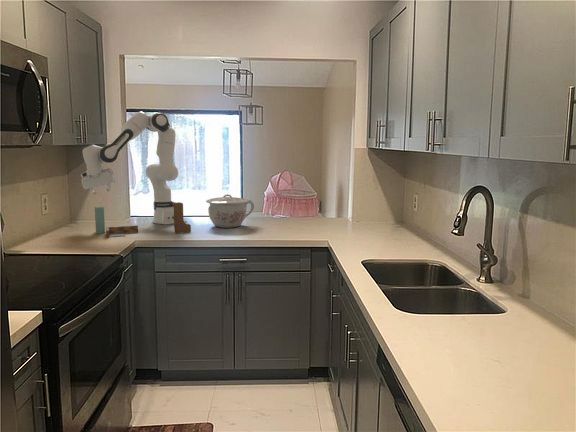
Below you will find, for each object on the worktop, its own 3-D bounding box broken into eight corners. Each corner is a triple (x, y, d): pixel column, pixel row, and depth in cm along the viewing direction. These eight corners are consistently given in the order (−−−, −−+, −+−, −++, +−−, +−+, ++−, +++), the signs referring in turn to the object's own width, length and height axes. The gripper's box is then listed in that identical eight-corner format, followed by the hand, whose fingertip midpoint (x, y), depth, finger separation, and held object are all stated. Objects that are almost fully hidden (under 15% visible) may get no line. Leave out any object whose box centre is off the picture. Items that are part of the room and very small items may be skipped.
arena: (137, 231, 292) (137, 225, 291) (139, 235, 280) (139, 229, 279) (106, 233, 285) (105, 227, 284) (106, 237, 273) (106, 230, 272)
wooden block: (188, 230, 296) (187, 201, 293) (191, 232, 292) (190, 202, 289) (174, 232, 291) (173, 202, 288) (176, 233, 287) (175, 203, 285)
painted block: (104, 231, 292) (103, 206, 289) (105, 233, 287) (103, 208, 285) (95, 232, 290) (94, 207, 288) (96, 233, 285) (94, 208, 283)
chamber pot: (198, 228, 304) (198, 195, 301) (217, 221, 330) (216, 191, 327) (240, 231, 296) (239, 197, 293) (255, 224, 322) (255, 193, 319)
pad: (124, 233, 285) (124, 233, 285) (125, 236, 278) (125, 235, 278) (109, 234, 283) (109, 234, 282) (110, 237, 275) (110, 236, 275)
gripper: (113, 167, 302) (119, 188, 304) (82, 174, 304) (89, 195, 306) (109, 168, 296) (115, 189, 298) (77, 175, 298) (84, 197, 300)
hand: (101, 193), depth 302 cm, fingers open, 8 cm apart
